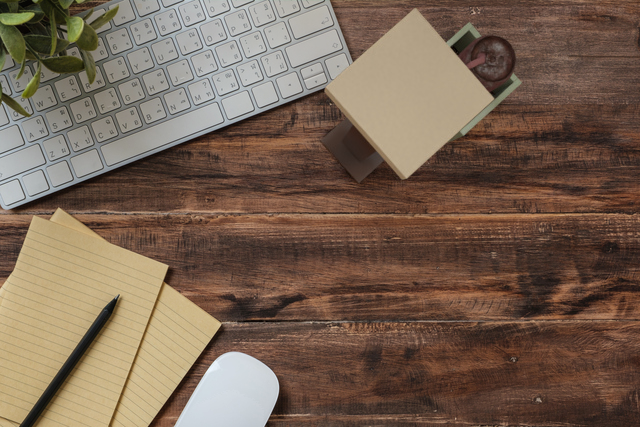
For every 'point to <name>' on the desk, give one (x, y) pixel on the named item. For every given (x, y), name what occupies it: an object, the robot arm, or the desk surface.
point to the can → (490, 60)
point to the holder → (501, 92)
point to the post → (352, 150)
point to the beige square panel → (408, 94)
